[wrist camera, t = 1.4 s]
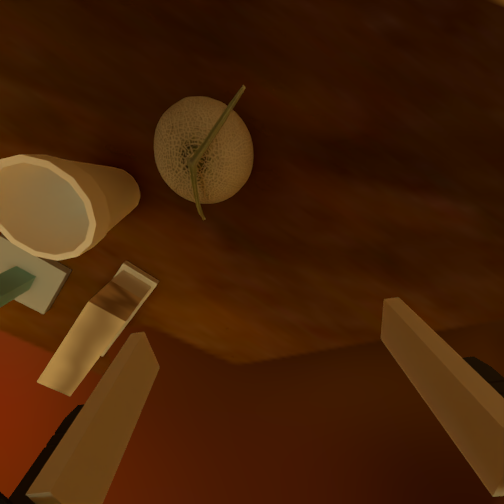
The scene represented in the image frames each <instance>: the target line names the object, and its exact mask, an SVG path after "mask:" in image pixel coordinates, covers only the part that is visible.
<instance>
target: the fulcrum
mask: <svg viewBox="0 0 504 504" xmlns="http://www.w3.org/2000/svg"><path fill="white" fill-rule="evenodd" d="M71 271H72V270H71V269H69V268H68V267H66V266H64V265H62V264H61V263H59V262H57V261H55V260H51V259H46V258H41V257H36V256H33V255H31V254H30V253H28V252H26V251H24V250H23V249H21V248H19V247H17V246H16V245H14V244H12V243H11V242H10V241H9V240H8V239H7V238H6V237H5V236H4V235H3V234H2V235H0V307H2V306H3V305H5V304H7V303H8V302H10V301H11V300H13V299H14V300H16V301H18V302H20V303H22V304H24V305H26V306H28V307H30V308H32V309H34V310H36V311H38V312H40V313H42V314H44V313H46V312H47V311H48V310H49V309H50V307H51V306H52V304H53V302H54V300H55V299H56V297H57V295H58V293H59V292H60V290H61V288H62V287H63V285H64V283H65V281H66V280H67V278H68V276H69V274H70V273H71Z"/></svg>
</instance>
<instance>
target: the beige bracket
mask: <svg viewBox="0 0 504 504" xmlns="http://www.w3.org/2000/svg"><path fill="white" fill-rule="evenodd" d="M111 281H112V282H114V283H116V284H117V285H119V286H121V287H122V288H124V289H126V290H128V291H129V292H131V293H133V294H134V295H136V296H138V297H139V298H141V299H142V300H141V302H140V303H139V304H138V306H137V307H136V309H135V310H134V311H133V313H132V314H131V315H130V317H129V318H128V319H127V321H126V322H125V323H124V325H123V326H122V327H121V329H120V330H119V331H118V333H117V334H116V336H115V337H114V338H113V340H112V341H111V342H110V344H109V345H108V346H107V348H106V349H105V350H104V352H103V353H102V354H101V356H104V355H105V353H106V352H107V351H108V349H109V348H110V346H111V345H112V344H113V343H114V341H115V340H116V339H117V337H118V336H119V335H120V333H121V332H122V331H123V329H124V328H125V327H126V325H127V324H128V323H129V321H130V320H131V319H132V317H133V316H134V315H135V313H136V312H137V311H138V309H139V308H140V307H141V305H142V304H143V303H144V301H145V300H146V299H147V297H148V296H149V295H150V293H151V292H152V291H153V289H154V288H155V287H156V285H157V284H158V283H159V280H157V279H156V278H154V277H152V276H151V275H149V274H147V273H146V272H144V271H143V270H141V269H139V268H138V267H136V266H135V265H133V264H131V263H130V262H128V261H127V260H126V261H125V262H124V263H123V264H122V266H121V267H120V269H119V270H118V272H117V273H116V275H115V276H114V278H113V279H112V280H111Z"/></svg>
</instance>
